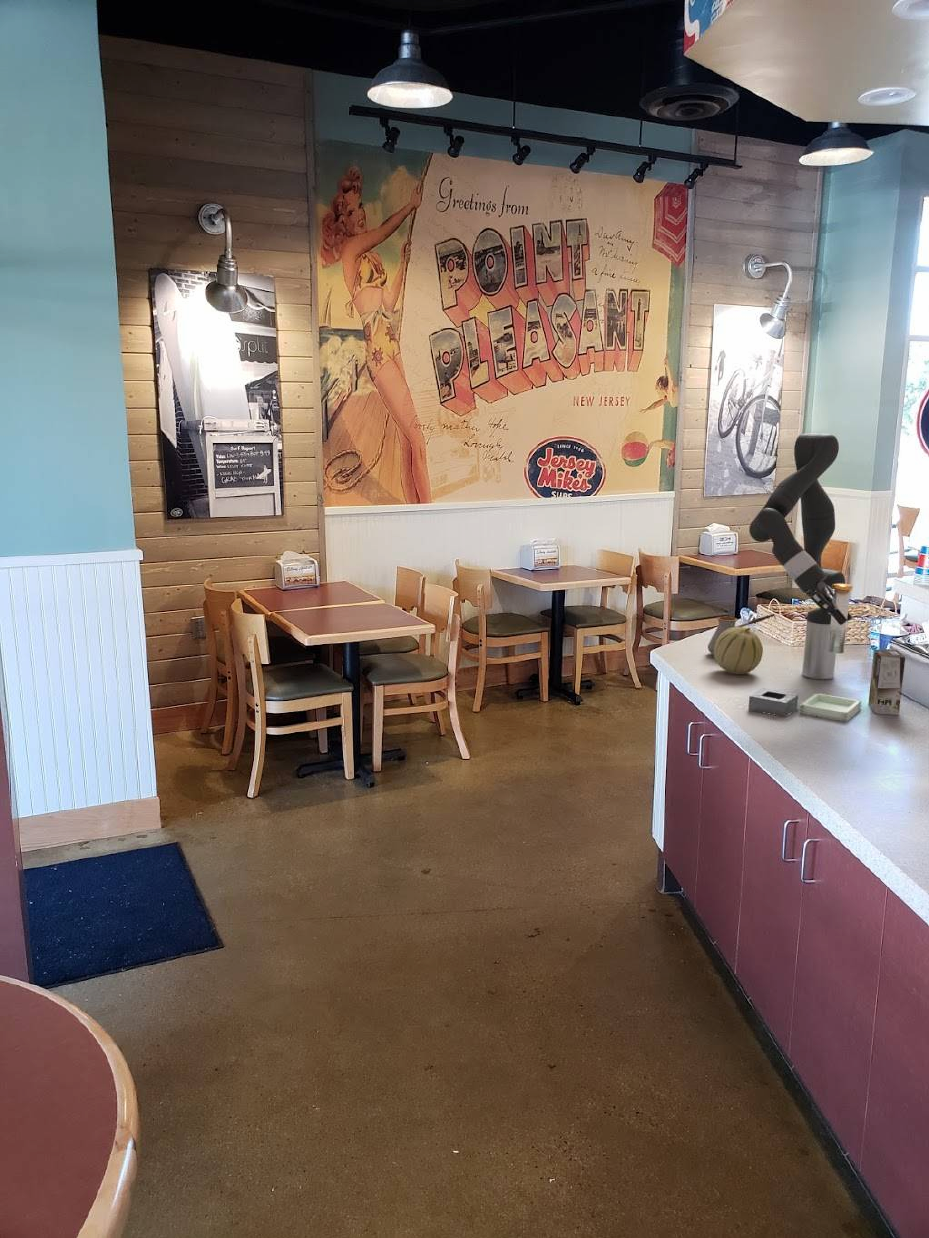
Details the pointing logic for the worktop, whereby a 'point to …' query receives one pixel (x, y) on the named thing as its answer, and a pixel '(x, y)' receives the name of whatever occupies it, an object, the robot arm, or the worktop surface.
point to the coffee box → (886, 681)
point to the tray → (830, 707)
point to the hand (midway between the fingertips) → (846, 621)
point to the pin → (836, 629)
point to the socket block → (773, 702)
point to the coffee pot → (729, 623)
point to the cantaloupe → (738, 650)
